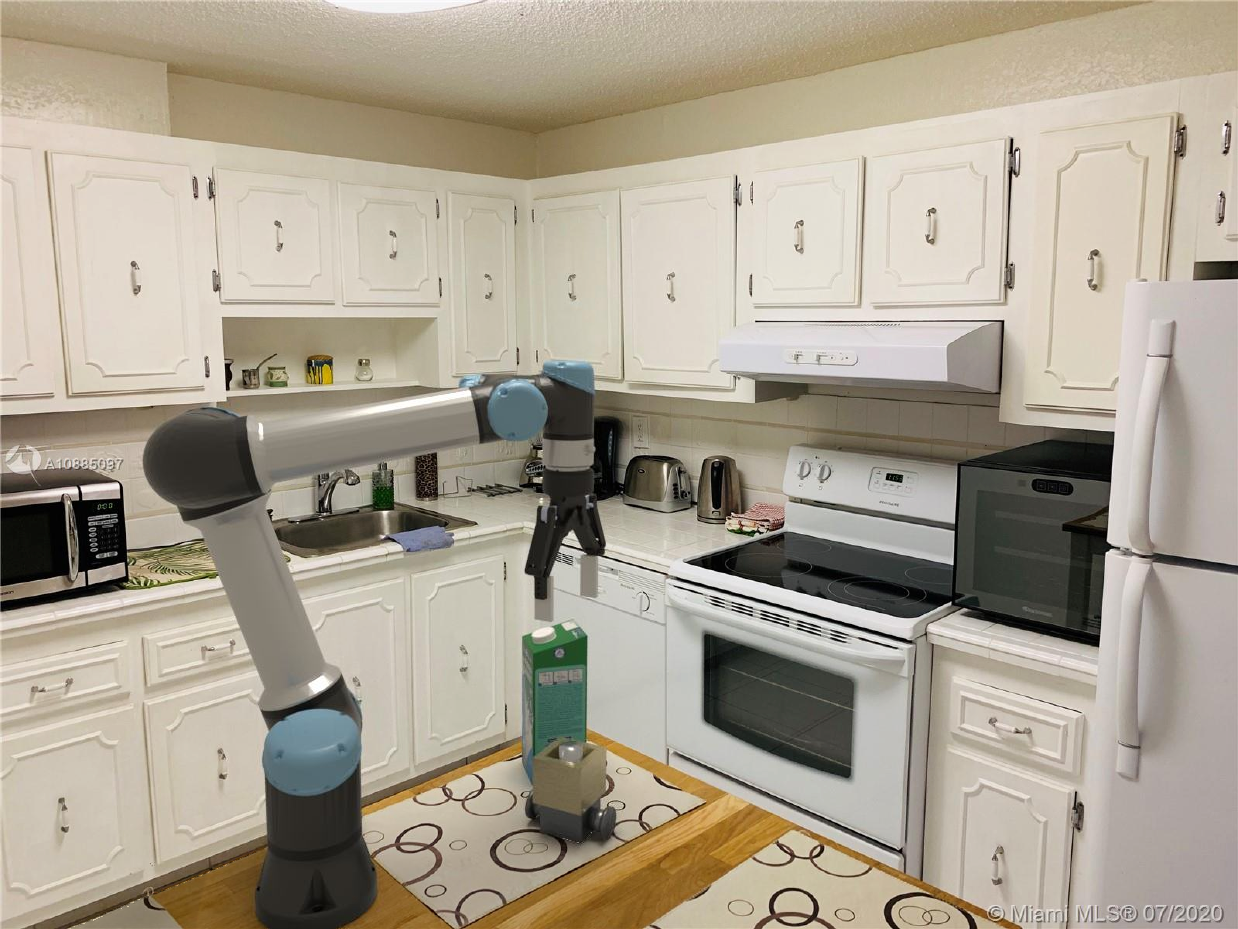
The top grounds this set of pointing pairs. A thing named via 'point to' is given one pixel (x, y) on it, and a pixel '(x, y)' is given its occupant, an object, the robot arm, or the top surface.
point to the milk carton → (553, 688)
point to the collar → (569, 778)
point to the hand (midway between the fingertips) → (567, 608)
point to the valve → (567, 822)
